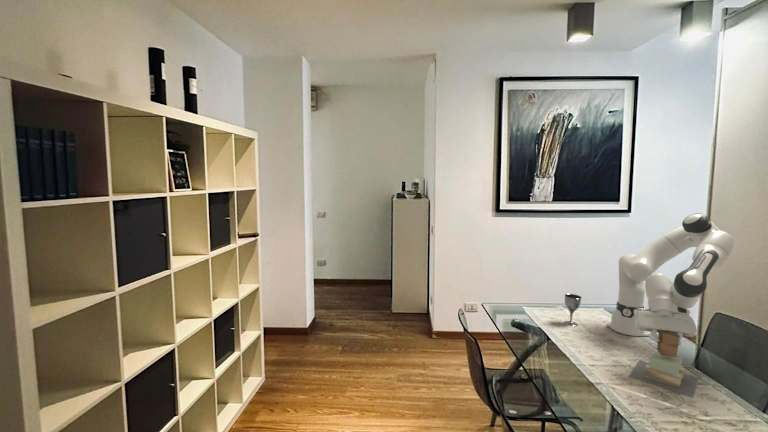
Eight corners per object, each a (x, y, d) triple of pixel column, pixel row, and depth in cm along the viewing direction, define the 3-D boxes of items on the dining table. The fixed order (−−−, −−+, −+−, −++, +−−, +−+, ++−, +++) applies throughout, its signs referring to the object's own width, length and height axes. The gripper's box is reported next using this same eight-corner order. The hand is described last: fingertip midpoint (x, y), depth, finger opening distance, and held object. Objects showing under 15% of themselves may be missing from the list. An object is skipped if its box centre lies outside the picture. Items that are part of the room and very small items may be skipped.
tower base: (649, 367, 163) (651, 358, 162) (683, 377, 155) (684, 367, 155) (644, 376, 155) (645, 367, 154) (679, 387, 147) (680, 377, 147)
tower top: (653, 359, 161) (654, 350, 161) (680, 367, 155) (681, 358, 154) (649, 367, 155) (650, 357, 154) (677, 375, 148) (678, 365, 148)
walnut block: (656, 349, 157) (659, 330, 156) (671, 351, 156) (673, 332, 155) (661, 355, 152) (663, 335, 151) (676, 357, 151) (679, 337, 150)
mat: (639, 361, 169) (639, 360, 169) (698, 379, 156) (698, 377, 156) (628, 378, 155) (628, 376, 155) (692, 399, 141) (692, 397, 141)
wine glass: (580, 327, 207) (583, 299, 205) (564, 325, 208) (566, 297, 206) (576, 321, 214) (579, 294, 213) (560, 319, 216) (563, 293, 214)
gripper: (635, 303, 162) (640, 336, 154) (694, 310, 156) (702, 344, 148) (630, 310, 167) (635, 342, 158) (688, 317, 161) (695, 350, 152)
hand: (668, 343), depth 153 cm, fingers closed on walnut block, 5 cm apart
